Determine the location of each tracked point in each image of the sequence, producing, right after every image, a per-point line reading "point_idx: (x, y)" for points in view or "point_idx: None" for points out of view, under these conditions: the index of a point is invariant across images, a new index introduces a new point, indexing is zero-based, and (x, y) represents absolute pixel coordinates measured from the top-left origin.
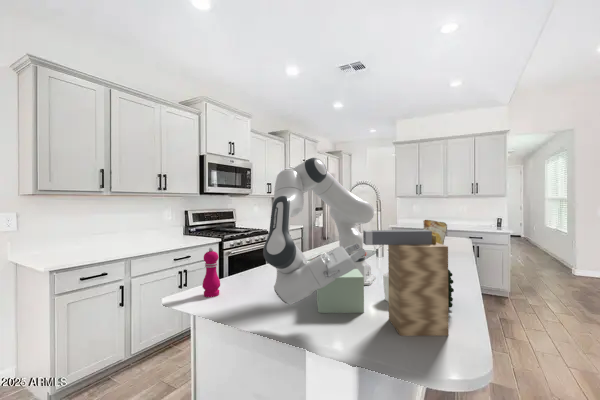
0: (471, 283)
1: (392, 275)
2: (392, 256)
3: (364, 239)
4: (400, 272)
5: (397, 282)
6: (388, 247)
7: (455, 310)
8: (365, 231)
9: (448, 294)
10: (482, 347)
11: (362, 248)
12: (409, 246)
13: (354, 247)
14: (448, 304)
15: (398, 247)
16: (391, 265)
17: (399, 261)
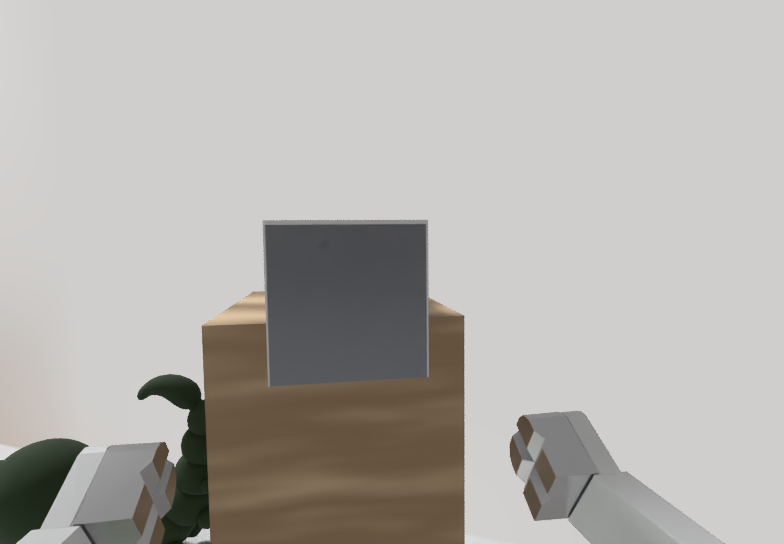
0: (11, 450)
1: (312, 537)
2: (312, 412)
3: (347, 328)
4: (463, 463)
5: (418, 540)
6: (207, 373)
7: (204, 531)
8: (411, 221)
9: None
10: (468, 539)
11: (557, 414)
12: (436, 307)
13: (146, 527)
14: (197, 526)
15: (441, 324)
16: (288, 479)
17: (458, 403)
